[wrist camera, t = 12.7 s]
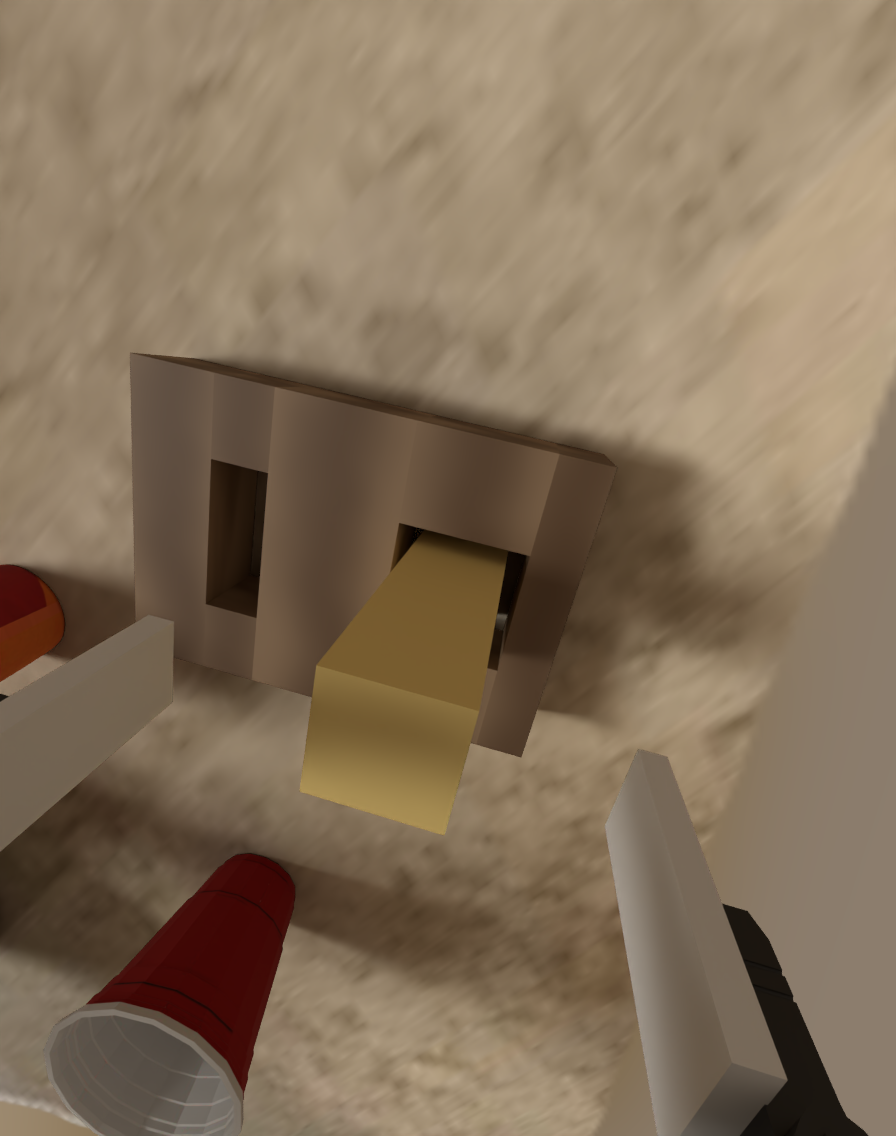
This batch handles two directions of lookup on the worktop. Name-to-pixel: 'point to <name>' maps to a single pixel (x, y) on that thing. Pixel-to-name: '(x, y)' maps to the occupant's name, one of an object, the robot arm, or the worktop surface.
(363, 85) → the worktop surface
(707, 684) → the worktop surface
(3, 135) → the worktop surface
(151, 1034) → the plastic cup
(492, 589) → the square peg
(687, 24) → the worktop surface
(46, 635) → the coffee cup
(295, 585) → the socket block
